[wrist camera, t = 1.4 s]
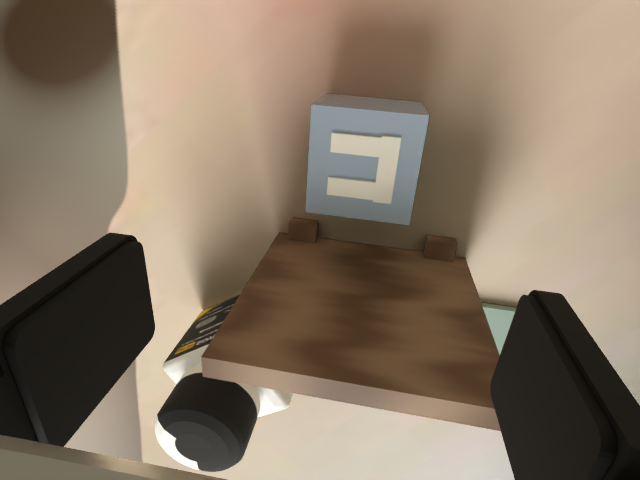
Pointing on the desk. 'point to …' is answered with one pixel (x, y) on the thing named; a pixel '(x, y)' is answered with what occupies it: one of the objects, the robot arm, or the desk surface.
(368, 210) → the letter cube
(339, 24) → the desk surface
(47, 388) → the robot arm
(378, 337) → the screen
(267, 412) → the medicine bottle
